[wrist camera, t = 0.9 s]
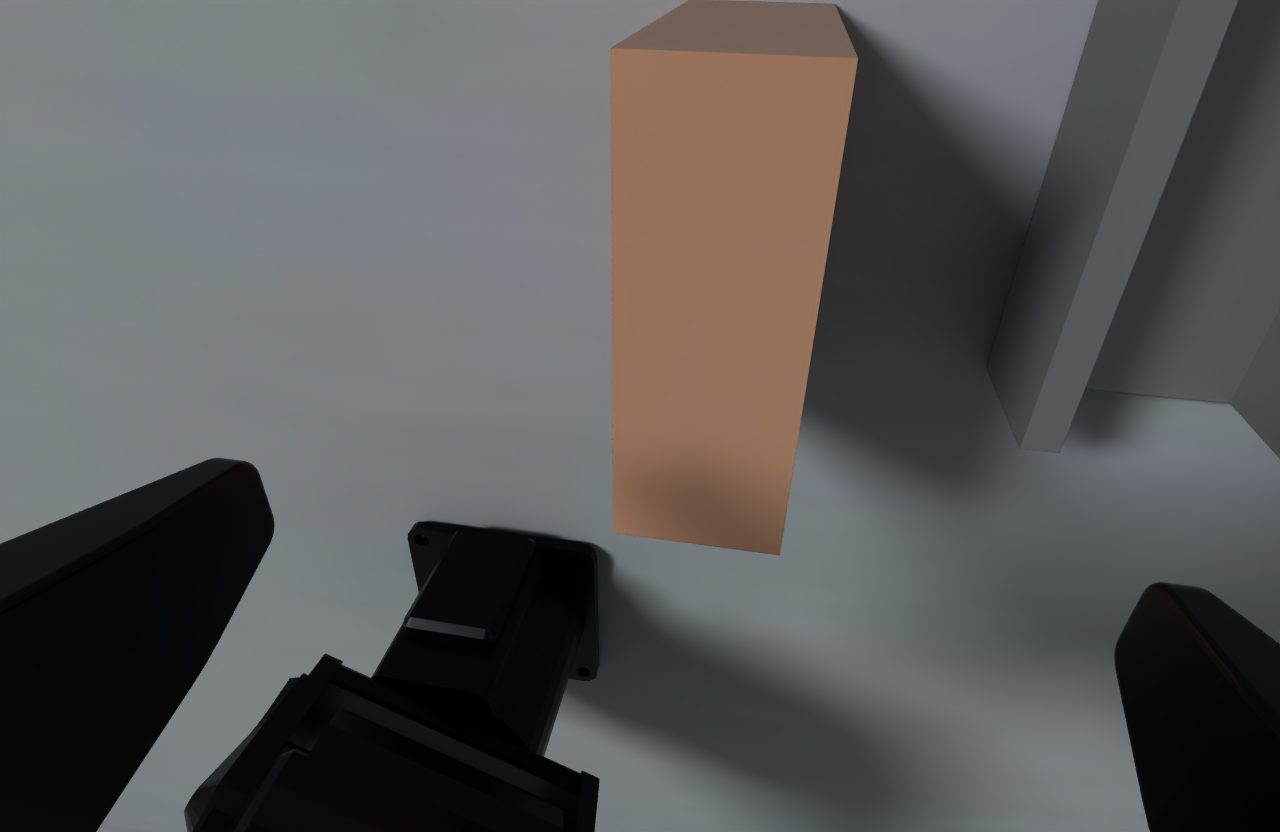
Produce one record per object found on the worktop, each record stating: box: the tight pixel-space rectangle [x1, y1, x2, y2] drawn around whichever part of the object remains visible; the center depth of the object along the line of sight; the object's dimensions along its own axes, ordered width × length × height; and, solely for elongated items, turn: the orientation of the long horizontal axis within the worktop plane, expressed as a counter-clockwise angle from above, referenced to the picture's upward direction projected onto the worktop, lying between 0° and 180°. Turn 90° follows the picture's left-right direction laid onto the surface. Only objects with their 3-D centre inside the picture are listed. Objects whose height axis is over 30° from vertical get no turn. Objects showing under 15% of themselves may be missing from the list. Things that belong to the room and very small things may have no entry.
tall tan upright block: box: [611, 0, 858, 555], centre depth 15 cm, size 8×3×8 cm, turn 179°
